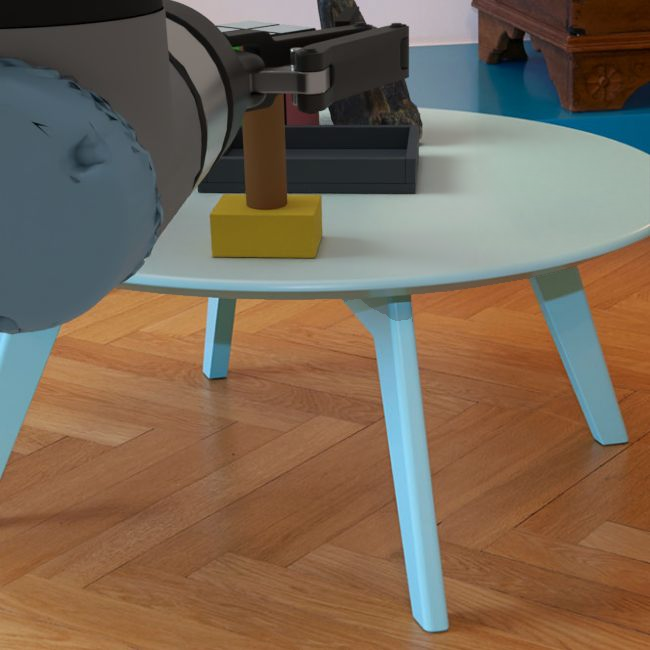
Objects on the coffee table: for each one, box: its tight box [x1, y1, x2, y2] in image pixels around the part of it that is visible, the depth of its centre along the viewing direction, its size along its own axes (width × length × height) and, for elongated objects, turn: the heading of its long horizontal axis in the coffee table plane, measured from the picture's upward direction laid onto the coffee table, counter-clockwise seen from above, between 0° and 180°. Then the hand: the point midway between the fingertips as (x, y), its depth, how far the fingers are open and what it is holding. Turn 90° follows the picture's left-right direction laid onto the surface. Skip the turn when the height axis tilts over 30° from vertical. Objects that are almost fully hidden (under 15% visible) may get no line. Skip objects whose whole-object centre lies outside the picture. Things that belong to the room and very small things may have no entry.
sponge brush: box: [209, 46, 323, 259], centre depth 76 cm, size 7×5×14 cm
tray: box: [197, 124, 420, 194], centre depth 96 cm, size 18×13×3 cm
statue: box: [316, 0, 423, 140], centre depth 106 cm, size 6×12×15 cm, turn 50°
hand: (231, 33), depth 63 cm, fingers open, 13 cm apart
